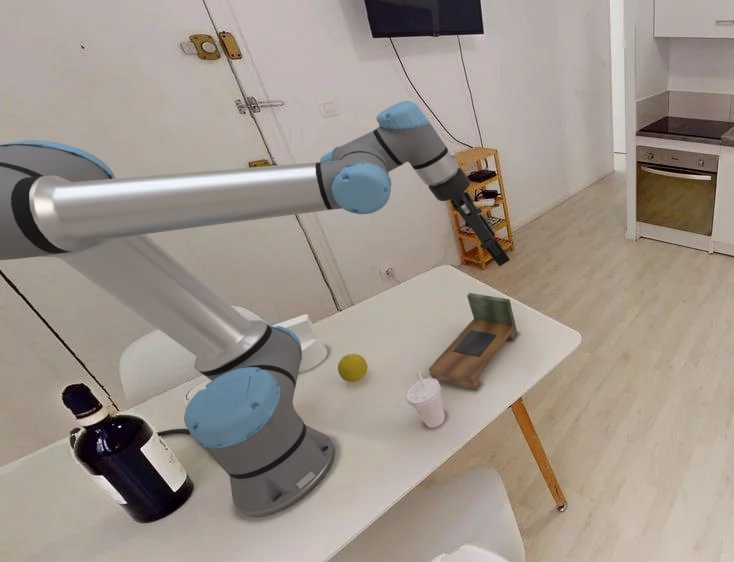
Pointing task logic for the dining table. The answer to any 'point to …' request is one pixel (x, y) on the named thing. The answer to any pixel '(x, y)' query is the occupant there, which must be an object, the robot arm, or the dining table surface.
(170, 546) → the dining table surface
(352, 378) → the lemon
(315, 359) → the base with upright slab
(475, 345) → the wooden board with backrest
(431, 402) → the smoothie
